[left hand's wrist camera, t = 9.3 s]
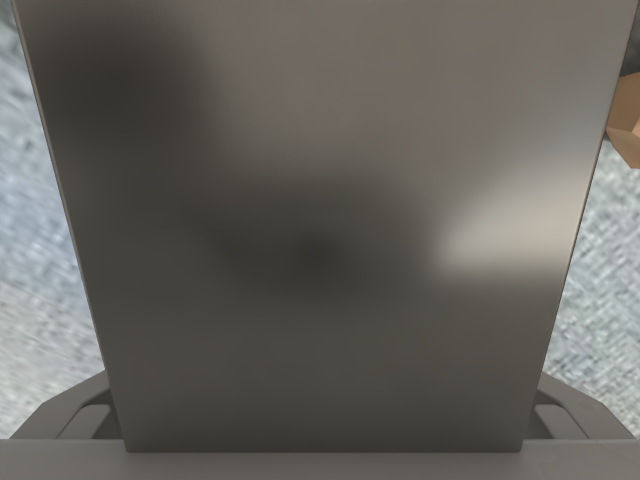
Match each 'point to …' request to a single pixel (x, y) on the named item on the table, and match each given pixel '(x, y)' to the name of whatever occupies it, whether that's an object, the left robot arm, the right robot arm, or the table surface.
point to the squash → (626, 119)
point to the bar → (324, 209)
